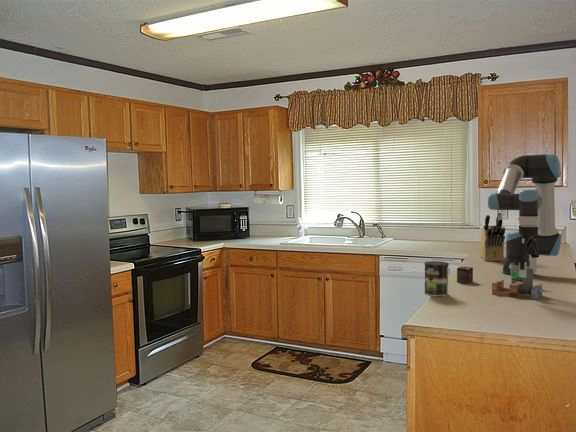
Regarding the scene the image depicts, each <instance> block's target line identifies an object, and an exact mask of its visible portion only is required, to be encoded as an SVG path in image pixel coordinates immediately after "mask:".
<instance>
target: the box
mask: <svg viewBox="0 0 576 432" xmlns="http://www.w3.org/2000/svg"><path fill="white" fill-rule="evenodd" d="M456 269H457V270H456V283H460V284H468V285H469V284H471V283H473V281H474V272H473V271H474V267H472V266H459V267H457V268H456Z"/></svg>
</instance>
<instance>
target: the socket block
mask: <svg viewBox="0 0 576 432" xmlns="http://www.w3.org/2000/svg"><path fill="white" fill-rule="evenodd" d="M504 283H505V280H504V279H498V280H496V281H493V282H492V283H491V294H492V295H494V296H495V295H497V296H504V297H512V298H519V299H527V300H528V299H529V300H537V299H539V298H540V297H542V296H543V283H537V284H535V285H533V287H531V295H530V294H523V282H515V283H513V284H512V283H511V284H509V287H505V285H504Z"/></svg>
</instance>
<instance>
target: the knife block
mask: <svg viewBox="0 0 576 432" xmlns="http://www.w3.org/2000/svg"><path fill="white" fill-rule="evenodd" d="M496 214H497V215H496V219H495V225H489V223H490V220H491V216H490V215H489V214H487V215H485V219H484V225H483V227H482V230H481V231H482V232H481V238H480V242H479V243H480V244H479V249H478V254H479V256H480V257H481V258H482V259H483V260H484V261H485V262H490V261H492V262H493V261H498V262H503V261H505V260H504V255H505V253H504V251H505V250H504V249H505V248H504V243H505V240H506V236H505V233H506V227H505V226H503V217H502V212H500V211H498V212H497V213H496Z"/></svg>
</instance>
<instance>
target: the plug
mask: <svg viewBox="0 0 576 432" xmlns="http://www.w3.org/2000/svg"><path fill="white" fill-rule="evenodd" d="M533 286H534V272H533V269H532V268H527V269H526V278H524V277H523V294H530V295H531V287H533Z"/></svg>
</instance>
